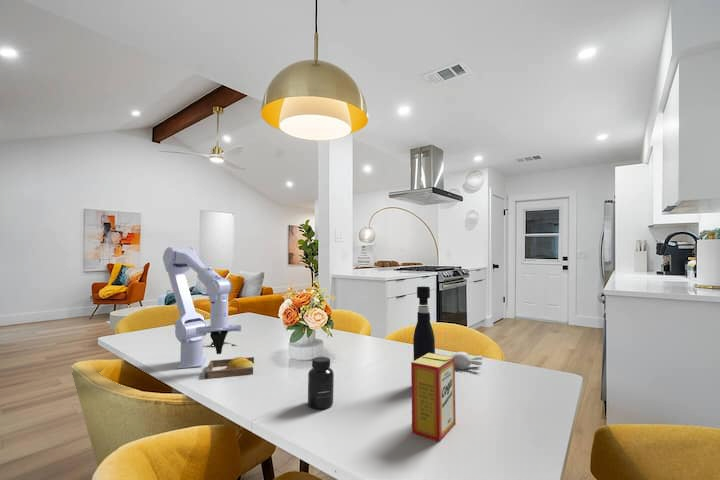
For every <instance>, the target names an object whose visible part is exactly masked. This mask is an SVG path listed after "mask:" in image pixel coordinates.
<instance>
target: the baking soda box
mask: <svg viewBox="0 0 720 480" xmlns="http://www.w3.org/2000/svg"><path fill="white" fill-rule="evenodd" d="M410 364H411V367H410V368H411V370H410V371H411V373H410V376H411V433H412V434H415V435H417V436H421V437H423V438H426V439H429V440H431V441H435V442H438V443H440V442H441V441H442V440H443V439H444V438H445V437H446V436H447V435H448V434H449V432H450V431H452V429H453V428H454V427H455V426H456V424H457V423H456V372H455V371H456V368H455V357H451V356H445V355H443V354H441V353H439V354H438V353H435V354H434V353H427V354H426V355H424V356H422V357H420V358H418V359H417V360H415V361H414V360H412V361H411V363H410Z"/></svg>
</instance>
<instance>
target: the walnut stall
mask: <svg viewBox="0 0 720 480" xmlns="http://www.w3.org/2000/svg"><path fill="white" fill-rule="evenodd" d="M245 358H246V359H248V360H249V361H251V362H252V363H253V364H254V363H255V356H251V357H245ZM232 359H233V358H226V359H215V360H213V359H212V360H210V361H209V364H208V366H207V367H206V369H205V371H204V379H205V380H206V379H216V378H225V377H235V376H236V377H237V376H246V375H253V374H254V366H253V367H248V368H238V369H227V368H226V369H218V370H213V368H215V367H217V368H218V367H225V366H226V367H227V365H228V363H229V362H230V361H231V360H232Z"/></svg>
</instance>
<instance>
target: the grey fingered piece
mask: <svg viewBox="0 0 720 480" xmlns="http://www.w3.org/2000/svg"><path fill="white" fill-rule="evenodd" d="M442 355H445V356H451V357H455V369H457V370H467V369H468V367H470V366H472V365H474V366H482V365H483V362H482V360H483V356H482V355H475V356H470V355H469V353H467V351H466V352H465V351H457V352H453V353H447V352H446V353H443V354H442Z"/></svg>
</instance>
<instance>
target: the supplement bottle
mask: <svg viewBox="0 0 720 480" xmlns="http://www.w3.org/2000/svg"><path fill="white" fill-rule="evenodd" d="M311 367H312V368H311V369H310V370H309V371H308V375H307V376H308V377H307V379H308V380H307V405H308V406H309V408H311V409H313V410H326V409H328V408H330V407H332V406H333V405H334V386H335V385H334V375H335V374H334V370H333V369H332V368H331V359H330V358H329V357H327V356H317V357H313V358H312V360H311Z"/></svg>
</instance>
